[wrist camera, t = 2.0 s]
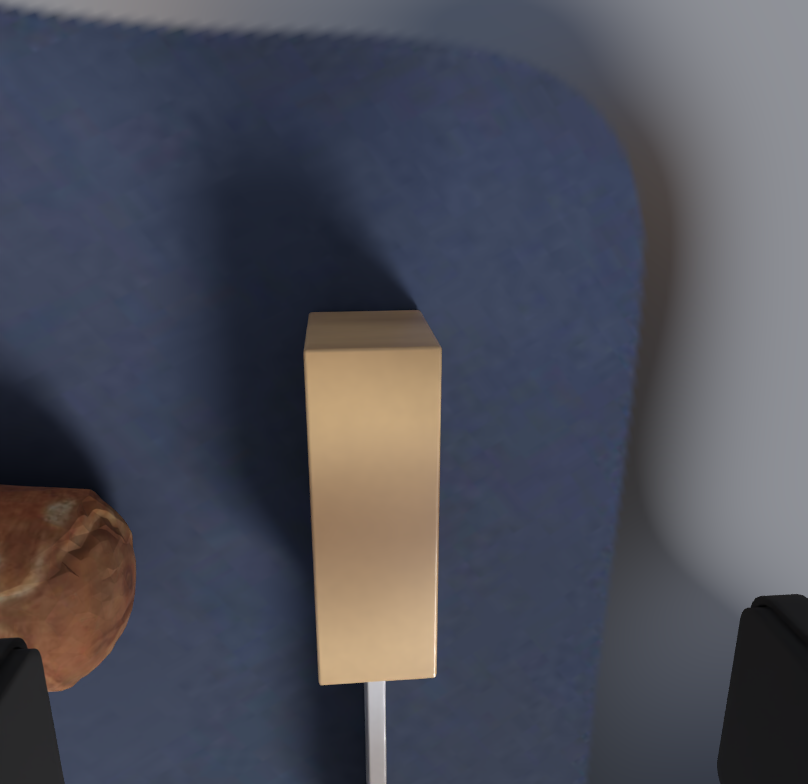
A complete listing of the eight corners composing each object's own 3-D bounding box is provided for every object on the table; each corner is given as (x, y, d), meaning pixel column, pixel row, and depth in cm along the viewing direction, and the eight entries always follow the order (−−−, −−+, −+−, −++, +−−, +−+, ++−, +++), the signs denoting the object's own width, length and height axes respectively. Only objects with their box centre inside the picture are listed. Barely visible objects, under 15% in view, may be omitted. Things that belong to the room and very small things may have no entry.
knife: (417, 834, 20) (432, 954, 17) (331, 841, 20) (331, 965, 17) (420, 309, 15) (442, 346, 12) (308, 311, 15) (303, 350, 12)
